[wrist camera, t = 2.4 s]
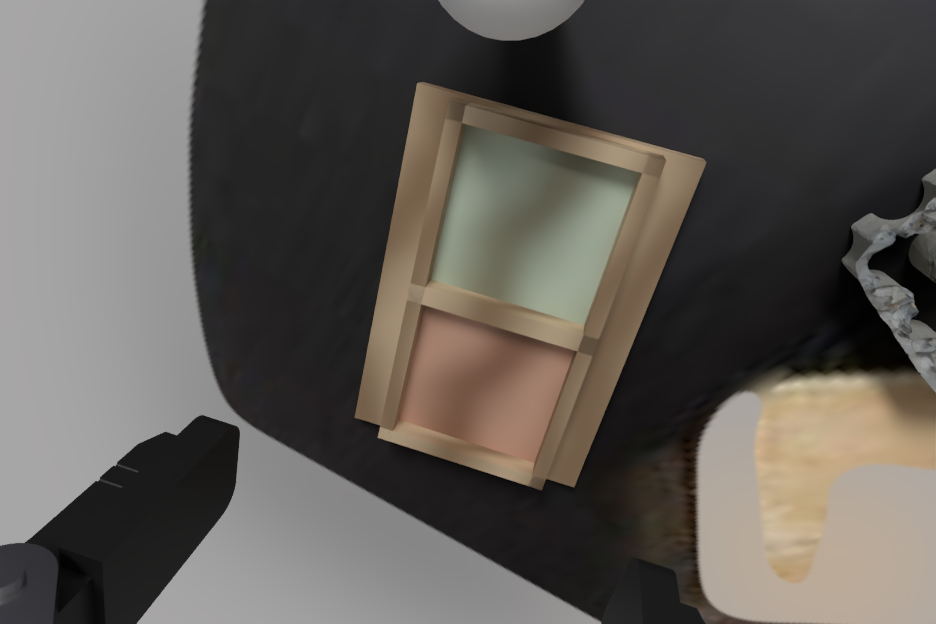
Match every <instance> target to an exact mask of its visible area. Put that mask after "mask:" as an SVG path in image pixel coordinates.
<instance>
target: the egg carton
mask: <svg viewBox="0 0 936 624" xmlns="http://www.w3.org/2000/svg"><path fill="white" fill-rule="evenodd" d="M922 183H923V186H924V197H923V200H922V202H921V204H920V206H919V207H918V208H917V209H916V210H915V211H914V212H913V213H912V214H911V215H909V216H907V217H905V218H902V219H899V220H885V219H881V218H879V217H877V216H875V215H874V214H872V213H871V214H868V215H866V216H865V217H863V218H862V219H860V220H859V221H857V222H855V223H854V224H853V225H852V226H851V229H852V231H853V237H854V238H853V245H852V247H851V249H850V251H849V252H848V253H847V254H846V256H845V257H843V258H842V263H843V264H844V265H845V266H846V268H847V269H848V270H849V271H850V272H851V273H852V274H853V275H854V276H855V277H856V278H857V279H858V280H859V281H860V283H861V285H862V287H863V289H864V291H865V294H866V296H867V297H868V299H869V300H870V302H871V303H872V305H873V306H874V307H875V308H876V309H877V311H878V312H877V313H878V314H879V316H880V317H881V318H882V319H883V320H884V321H885V322H886V323H887V324H888V325H889V327H890V328H891V330H892V332H893V334H894V336H895V338H896V340H897V341H898V342H899V343H900V345H901V346H902V348H903V349H904V351H905V352H906V353H907V355H908V356H909V358H910V360H911V361H912V363H913V364H914V366H915V368H916V369H917V371H918V372H919V374H920V375H921V376H922V377H923V378H924V380H925V381H926V382H927V383H928V384H929V386H930V387H931V388H932V389H933V390H934V391H935V393H936V333H935V332H934V331H933V330H932V329H931V328H930V327H928V326H927V325H926V324H924V323H922V322H921V321H917V320H911V318H912V317H915V316H916V315H917V314H918V312H919V311H918V309H917V308H916V306H915V305H914V302H915V301H914V294H913V293H912V292H910V291H909V290H908V289H906V288H904V287H902V286H900V285H899V284H898V283H896V282H895V281H894V280H893V279H891V278H890V277H889V276H888V275H887V274H885V273H883V272H881V271H878V270H869V269H868V261H869V259H870V258H871V256H872V254H874V253H876V252H878V251H880V250H882V249H884V248H886V247H888V246H890V245H892V244H893V243H894V242H895V239H896V235H899V236H901V237H904V238H907V237H909V236H911V235H913V234H919V235H918V236H917V237H916V238H915V239H914V241H913V242H912V244H911V246H910V249H909V254H908V255H909V260H910V262H911V264H912V265H913V266H914V267H915V268H917V269H918V270H919V271H921V272H922V273H923V274H924V275H926V276H927V277H929V278H930V279H931V280H932V281H934V282H935V283H936V169H935V170H933V171H932V172H931V173H929V174H927V175H926V176H924V177H923V179H922Z"/></svg>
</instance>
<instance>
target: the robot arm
mask: <svg viewBox="0 0 936 624" xmlns="http://www.w3.org/2000/svg"><path fill="white" fill-rule="evenodd" d="M239 438H240V431H239V428H238V427H237V426H234V425H231V424H228V423H225V422H222V421H219V420H216V419H212V418H210V417H206V416H203V415H202V416H199V417H197V418H196V419H194V420H193V421H192V422H191V423H190V424H189V425H188V426H187V427H186V428H185V429H184V430H182V431H181V433H179V434H178V435H174V434H170V433H167V432H164V433H162V434H160V435H157V436H155V437H153V438H151V439H148V440H146V441H144V442H142V443H139V444H138V445H137V446H135V447H134V448H133V449H132V450H131V451H130V452H129V453H127V454H126V455H125V456H124V457H123V458H122V459H121V460H119V461H118V462H117V465H116V466H113V467H111V468H110V469H109V470H108V471H107V472H106V473H105V474H103V475H102V476H101V477H100V480H99V481H98V482H97V481H95V483H93V484H92V485H91V486H90V487H89V488H88V489H86V490H85V491H84V492H83V493H82V494H81V495H80V496H78V497H77V498H76V499H75V500H74V501H73V502H72V503H70V504H69V505H68V506H67V507H66V508H65V509H64V510H62V511H61V512H60V513H59V514H58V515H57V516H56V517H54V518H53V519H52V520H51V521H50V522H49V523H48V524H46V525H45V526H44V527H43V528H42V529H41V530H40V531H38V532H37V533H36V534H35V535H34V536H33V537H32V538H30V539H29V540H28V541H27V542H25V543H15V544H7V545H2V546H0V624H137V622H138V621H139V620H140V618H141V617H142V616H143V614H144V613H145V612H146V611H147V610H148V608H149V607H150V606H151V605H152V603H153V602H154V601H155V599H156V598H157V597H158V596H159V595H160V593H161V592H162V591H163V589H164V588H165V587H166V586H167V584H168V583H169V582H170V581H171V579H172V578H173V577H174V576H175V574H176V573H177V572H178V570H179V569H180V568H181V567H182V565H183V564H184V563H185V562H186V560H187V559H188V558H189V557H190V555H191V554H192V553H193V551H194V550H195V549H196V548H197V546H198V545H199V544H200V543H201V541H202V540H203V539H204V538H205V536H206V535H207V534H208V532H209V531H210V530H211V529H212V528H213V526H214V525H215V524H216V522H217V521H218V520H219V519H220V517H221V516H222V515H223V513H224V512H225V510H226V508H227V507H228V505H229V503H230V500H231V498H232V496H233V493H234V489H235V484H236V474H237V462H238V449H239ZM601 624H705V622H704V621H703V619H702V617H701V615H700V613H699V612H698V610H697V608H694V607H691V606H688V605H685V604H682V603H680V599H679V592H678V585H677V578H676V574H675V572H674V571H673V570H672V569H669V568H666V567H663V566H660V565H657V564H653V563H650V562H647V561H644V560H641V559H638V558H635V557H634V558H632V559H631V560H630V562H629V563H628V565H627V567H626V569H625V571H624V573H623V576H622V578H621V580H620V582H619V584H618V586H617V588H616V590H615V592H614V594H613V596H612V598H611V600H610V602H609V604H608V606H607V608H606V610H605V613H604V616H603V619H602V623H601Z"/></svg>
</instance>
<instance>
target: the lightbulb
mask: <svg viewBox="0 0 936 624" xmlns="http://www.w3.org/2000/svg"><path fill="white" fill-rule="evenodd" d="M439 2H440V3H441V5H442V6H443V7H444V8H445V10H446V11H447V12H448V13H449V14H450V15H451V16H452V17H453V18H454V19H455V20H456V21H457V22H459V23H460V24H461V25H463V26H464V27H465V28H467V29H468V30H470V31H472V32H475V33H477V34H479V35H481V36H483V37H487V38H492V39H496V40H524V39H528V38H533V37H537V36H539V35H542V34H544V33H546V32H548V31H551V30H553V29H554V28H556V27H557V26H558V25H560V24H561V23H563V22H564V21H566V20H567V19H568V18H569V17H570V16H571V15H572V14H573V13H574V12H575V11H576V10H577V9H578V8H579V7H580V6H581V5H582V3H583V2H584V0H439Z"/></svg>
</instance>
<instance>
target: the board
mask: <svg viewBox="0 0 936 624" xmlns="http://www.w3.org/2000/svg"><path fill="white" fill-rule="evenodd" d="M705 165H706V161H705V160H704V159H702V158H699V157H695V156H691V155H688V154H684V153H681V152H677V151H673V150H670V149H666V148H662V147H659V146H655V145H651V144H648V143H644V142H640V141H637V140H633V139H629V138H626V137H622V136H619V135H615V134H611V133H608V132H604V131H600V130H597V129H593V128H589V127H586V126H582V125H578V124H575V123H571V122H568V121H564V120H560V119H557V118H553V117H549V116H546V115H542V114H538V113H535V112H531V111H527V110H524V109H520V108H516V107H513V106H509V105H506V104H502V103H498V102H495V101H491V100H487V99H484V98H480V97H476V96H473V95H469V94H465V93H462V92H458V91H455V90H451V89H447V88H444V87H440V86H436V85H433V84H429V83H425V82H420V83H417V88H416V93H415V98H414V104H413V109H412V114H411V120H410V125H409V130H408V136H407V141H406V146H405V152H404V157H403V163H402V168H401V173H400V179H399V184H398V189H397V195H396V200H395V205H394V211H393V216H392V221H391V227H390V232H389V237H388V243H387V248H386V253H385V259H384V264H383V269H382V275H381V280H380V285H379V291H378V296H377V302H376V307H375V312H374V318H373V323H372V328H371V334H370V339H369V344H368V350H367V355H366V360H365V366H364V371H363V376H362V382H361V387H360V392H359V398H358V403H357V408H356V414H355V418H358V419H361V420H365V421H368V422H371V423H374V424H377V425H380V430H379V434H378V438H381V439H384V440H387V441H390V442H393V443H396V444H399V445H402V446H405V447H409V448H412V449H415V450H418V451H421V452H424V453H427V454H430V455H433V456H437V457H440V458H443V459H446V460H449V461H452V462H455V463H458V464H461V465H465V466H468V467H471V468H474V469H477V470H480V471H483V472H486V473H489V474H492V475H496V476H499V477H502V478H505V479H508V480H511V481H514V482H517V483H520V484H524V485H527V486H530V487H533V488H536V489H539V490H542V488H543V486H544V483H545V480H546V479H549V480H552V481H555V482H558V483H561V484H565V485H568V486H571V487H574V486H575V484H576V481H577V479H578V476H579V474H580V471H581V469H582V466H583V464H584V462H585V459H586V457H587V454H588V452H589V449H590V447H591V444H592V442H593V440H594V437H595V435H596V432H597V430H598V427H599V425H600V422H601V420H602V417H603V415H604V413H605V410H606V408H607V405H608V403H609V400H610V398H611V395H612V393H613V390H614V388H615V386H616V383H617V381H618V378H619V376H620V373H621V371H622V368H623V366H624V364H625V361H626V359H627V356H628V354H629V351H630V349H631V346H632V344H633V341H634V339H635V337H636V334H637V332H638V329H639V327H640V324H641V322H642V319H643V317H644V314H645V312H646V310H647V307H648V305H649V302H650V300H651V297H652V295H653V292H654V290H655V287H656V285H657V283H658V280H659V278H660V275H661V273H662V270H663V268H664V265H665V263H666V261H667V258H668V256H669V253H670V251H671V248H672V246H673V243H674V241H675V238H676V236H677V234H678V231H679V229H680V226H681V224H682V221H683V219H684V216H685V214H686V211H687V209H688V207H689V204H690V202H691V199H692V197H693V194H694V192H695V189H696V187H697V185H698V182H699V180H700V177H701V175H702V172H703V170H704V167H705Z"/></svg>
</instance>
